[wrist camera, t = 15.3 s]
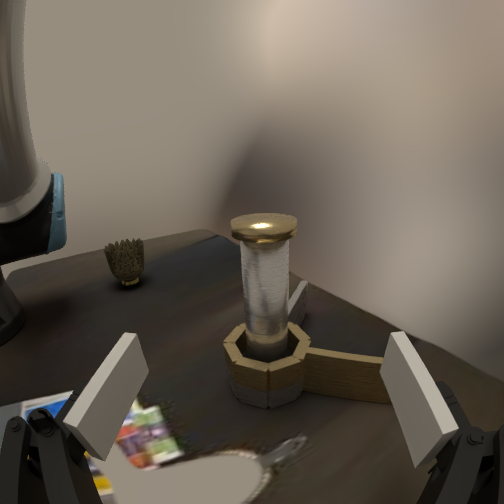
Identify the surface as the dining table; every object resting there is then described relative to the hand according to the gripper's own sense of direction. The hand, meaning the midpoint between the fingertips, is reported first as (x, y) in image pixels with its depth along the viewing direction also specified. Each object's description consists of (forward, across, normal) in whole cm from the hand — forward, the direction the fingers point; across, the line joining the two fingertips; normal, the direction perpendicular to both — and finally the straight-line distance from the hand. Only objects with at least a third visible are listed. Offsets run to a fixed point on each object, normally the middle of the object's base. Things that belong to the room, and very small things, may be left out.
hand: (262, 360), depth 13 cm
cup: (+31, -25, -11) cm, 41 cm away
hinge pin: (+9, 0, -11) cm, 14 cm away
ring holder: (+11, +3, -11) cm, 16 cm away
